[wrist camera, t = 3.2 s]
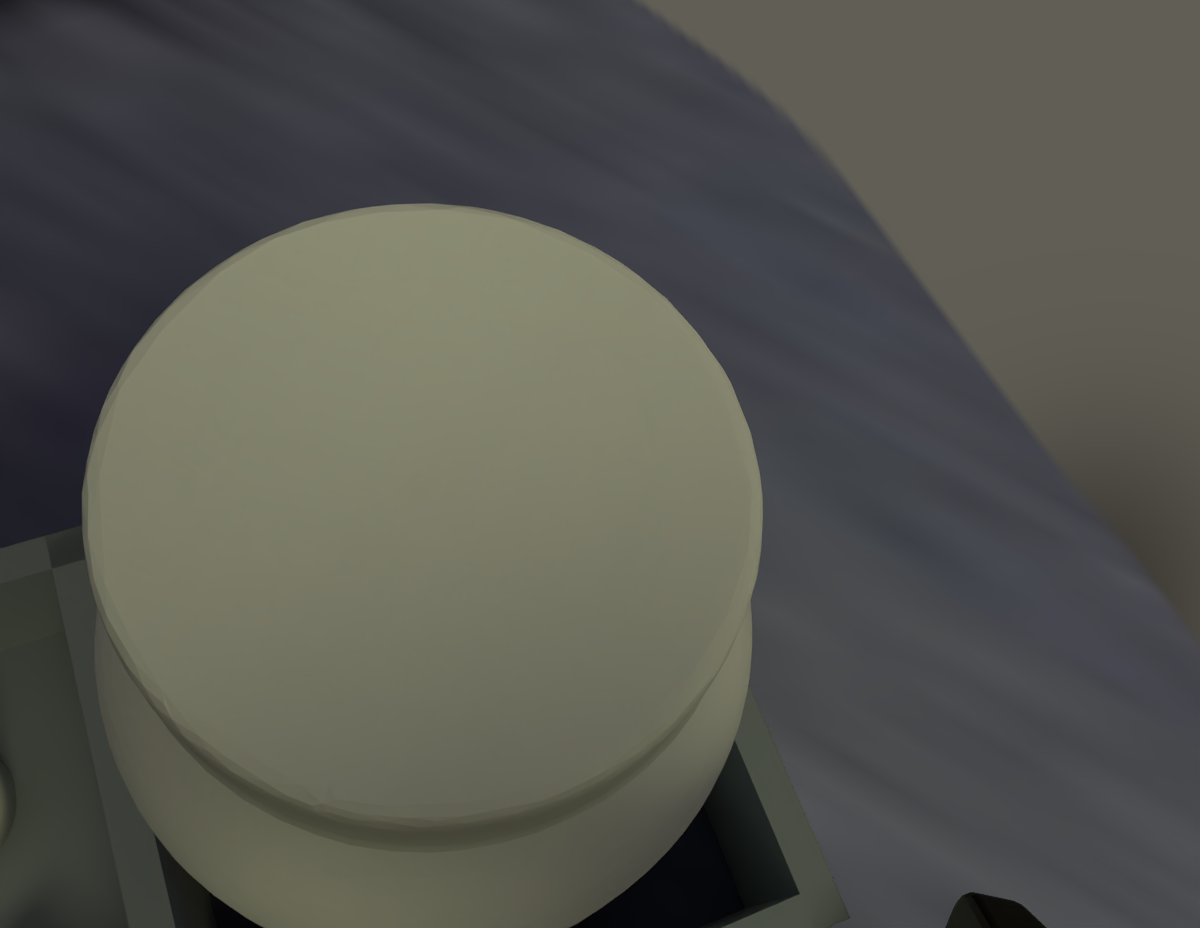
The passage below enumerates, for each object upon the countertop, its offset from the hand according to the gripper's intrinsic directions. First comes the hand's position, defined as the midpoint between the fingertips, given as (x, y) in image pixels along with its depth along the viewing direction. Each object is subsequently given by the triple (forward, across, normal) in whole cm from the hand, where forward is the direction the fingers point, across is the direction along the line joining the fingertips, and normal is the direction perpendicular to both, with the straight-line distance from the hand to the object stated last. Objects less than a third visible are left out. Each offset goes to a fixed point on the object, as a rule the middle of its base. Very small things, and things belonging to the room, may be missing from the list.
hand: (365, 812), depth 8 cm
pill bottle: (+8, 0, +5) cm, 10 cm away
